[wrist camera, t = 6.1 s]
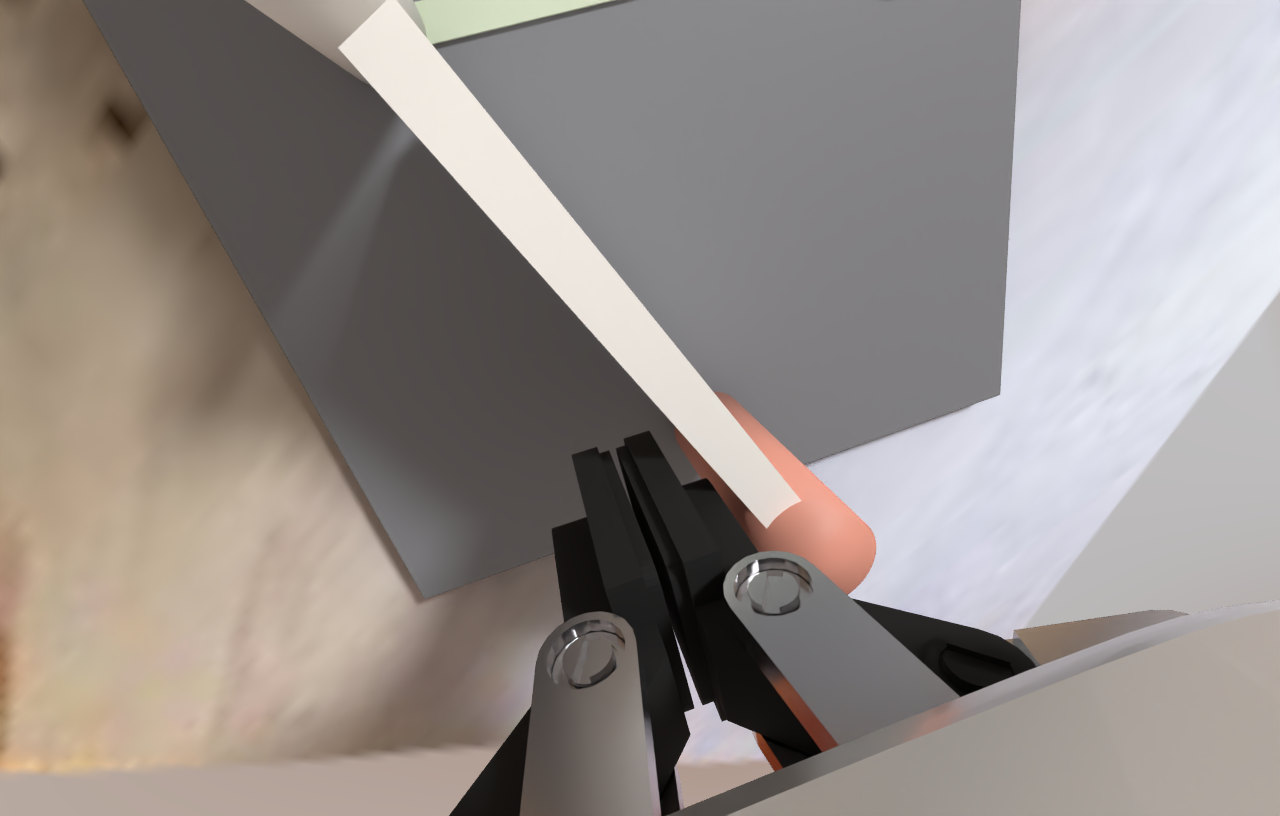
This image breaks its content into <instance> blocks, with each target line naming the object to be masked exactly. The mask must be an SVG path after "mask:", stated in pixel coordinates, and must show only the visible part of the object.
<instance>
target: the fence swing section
mask: <svg viewBox="0 0 1280 816" xmlns="http://www.w3.org/2000/svg"><path fill="white" fill-rule="evenodd" d="M338 48H339V50H340V51H341V52H342V53H343V54H344V55H345V56H346V57H347V59H348V60H349V61H350V62H351V63H352V64H353V65H354V66H355V67H356V69H357V70H358V71H359V72H360V73H361V74H362V75H363V76H364V78H365V79H366V80H367V81H368V82H369V83H370V84H371V85H372V87H373V88H374V89H375V90H376V91H377V92H378V93H379V94H380V96H381V97H382V98H383V99H384V100H385V101H386V102H387V103H388V105H389V106H390V107H391V108H392V109H393V110H394V111H395V112H396V113H397V115H398V116H399V117H400V118H401V119H402V120H403V121H404V122H405V124H406V125H407V126H408V127H409V128H410V129H411V130H412V131H413V133H414V134H415V135H416V136H417V137H418V138H419V139H420V140H421V142H422V143H423V144H424V145H425V146H426V147H427V148H428V149H429V151H430V152H431V153H432V154H433V155H434V156H435V157H436V158H437V159H438V161H439V162H440V163H441V164H442V165H443V166H444V167H445V168H446V170H447V171H448V172H449V173H450V174H451V175H452V176H453V177H454V179H455V180H456V181H457V182H458V183H459V184H460V185H461V186H462V188H463V189H464V190H465V191H466V192H467V193H468V194H469V195H470V197H471V198H472V199H473V200H474V201H475V202H476V203H477V204H478V205H479V207H480V208H481V209H482V210H483V211H484V212H485V213H486V214H487V216H488V217H489V218H490V219H491V220H492V221H493V222H494V223H495V225H496V226H497V227H498V228H499V229H500V230H501V231H502V232H503V234H504V235H505V236H506V237H507V238H508V239H509V240H510V241H511V243H512V244H513V245H514V246H515V247H516V248H517V249H518V250H519V251H520V253H521V254H522V255H523V256H524V257H525V258H526V259H527V260H528V262H529V263H530V264H531V265H532V266H533V267H534V268H535V269H536V271H537V272H538V273H539V274H540V275H541V276H542V277H543V278H544V280H545V281H546V282H547V283H548V284H549V285H550V286H551V287H552V289H553V290H554V291H555V292H556V293H557V294H558V295H559V296H560V297H561V299H562V300H563V301H564V302H565V303H566V304H567V305H568V306H569V308H570V309H571V310H572V311H573V312H574V313H575V314H576V315H577V317H578V318H579V319H580V320H581V321H582V322H583V323H584V324H585V326H586V327H587V328H588V329H589V330H590V331H591V332H592V333H593V335H594V336H595V337H596V338H597V339H598V340H599V341H600V342H601V343H602V345H603V346H604V347H605V348H606V349H607V350H608V351H609V352H610V354H611V355H612V356H613V357H614V358H615V359H616V360H617V361H618V363H619V364H620V365H621V366H622V367H623V368H624V369H625V370H626V372H627V373H628V374H629V375H630V376H631V377H632V378H633V379H634V381H635V382H636V383H637V384H638V385H639V386H640V387H641V388H642V389H643V391H644V392H645V393H646V394H647V395H648V396H649V397H650V398H651V400H652V401H653V402H654V403H655V404H656V405H657V406H658V407H659V409H660V410H661V411H662V412H663V413H664V414H665V415H666V416H667V418H668V419H669V420H670V421H671V422H672V423H673V424H674V425H675V429H674V430H675V437H676V440H677V443H678V444H679V446H680V447H681V449H682V451H683V452H684V454H685V455H686V457H687V458H688V460H689V461H690V463H691V464H692V466H693V467H694V469H695V470H696V472H697V473H698V475H699V476H700V478H701V479H703V478H707V479H708V480H709V481H710V482H711V484H712V485H713V487H714V488H715V489H716V491H717V492H718V494H719V495H720V497H721V498H722V500H723V501H724V502H725V504H726V505H727V507H728V508H729V510H730V511H731V513H732V514H733V515H734V517H735V518H736V520H737V521H738V523H739V524H740V526H741V527H742V529H743V530H744V531H745V533H746V534H747V536H748V537H749V539H750V540H751V542H752V543H753V544H754V546H755V547H756V549H757V550H758V552H766V551H782V552H789V553H792V554H795V555H798V556H801V557H803V558H805V559H806V560H808V561H809V562H811V563H812V564H814V565H815V566H816V567H817V568H818V569H819V570H820V571H821V572H822V573H824V574H825V575H826V576H827V577H828V578H829V579H830V580H831V581H832V582H834V583H835V584H836V585H837V586H838V587H839V588H840V589H841V590H842V591H843V592H845V593H846V594H847V595H848V594H849V593H851V592H852V591H853V590H854V589H855V588H856V587H857V586H858V585H859V584H860V583H861V582H862V581H863V580H864V578H865V577H866V575H867V574H868V572H869V571H870V569H871V567H872V564H873V562H874V558H875V554H876V541H875V537H874V534H873V532H872V530H871V529H870V528H869V526H868V525H867V524H866V523H865V522H864V521H863V520H862V519H860V518H859V517H858V516H857V515H856V514H855V513H854V512H853V511H852V510H851V509H850V508H849V507H848V506H847V505H846V504H845V503H844V502H843V501H841V500H840V499H839V498H838V497H837V496H836V495H835V494H834V493H833V492H832V491H831V490H830V489H829V488H828V487H827V486H826V485H825V484H824V483H823V482H821V481H820V480H819V479H818V478H817V477H816V476H815V475H814V474H813V473H812V472H811V471H810V470H809V469H808V468H807V467H806V466H805V465H804V464H802V463H801V462H800V461H799V460H798V459H797V458H796V457H795V456H794V455H793V454H792V453H791V452H790V451H789V450H788V449H787V448H786V447H785V446H783V445H782V444H781V443H780V442H779V441H778V440H777V439H776V438H775V437H774V436H773V435H772V434H771V433H770V432H769V431H768V430H767V429H766V428H765V427H763V426H762V425H761V424H760V423H759V422H758V421H757V420H756V419H755V418H754V417H753V416H752V415H751V414H750V413H749V412H748V411H747V410H746V409H744V408H743V407H742V406H741V405H740V404H739V403H738V402H737V401H736V400H735V399H734V398H733V397H731V396H730V395H728V394H725V393H722V392H713V391H712V390H711V388H710V387H709V386H708V385H707V383H706V382H705V381H704V380H703V378H702V377H701V376H700V375H699V374H698V372H697V371H696V370H695V369H694V367H693V366H692V365H691V364H690V362H689V361H688V360H687V359H686V357H685V356H684V355H683V354H682V353H681V351H680V350H679V349H678V348H677V346H676V345H675V344H674V343H673V341H672V340H671V339H670V338H669V336H668V335H667V334H666V333H665V332H664V330H663V329H662V328H661V327H660V325H659V324H658V323H657V322H656V320H655V319H654V318H653V317H652V315H651V314H650V313H649V312H648V311H647V309H646V308H645V307H644V306H643V304H642V303H641V302H640V301H639V299H638V298H637V297H636V296H635V294H634V293H633V292H632V291H631V290H630V288H629V287H628V286H627V285H626V283H625V282H624V281H623V280H622V278H621V277H620V276H619V275H618V273H617V272H616V271H615V270H614V269H613V267H612V266H611V265H610V264H609V262H608V261H607V260H606V259H605V257H604V256H603V255H602V254H601V252H600V251H599V250H598V249H597V248H596V246H595V245H594V244H593V243H592V241H591V240H590V239H589V238H588V236H587V235H586V234H585V233H584V231H583V230H582V229H581V228H580V227H579V225H578V224H577V223H576V222H575V220H574V219H573V218H572V217H571V215H570V214H569V213H568V212H567V210H566V209H565V208H564V207H563V206H562V204H561V203H560V202H559V201H558V199H557V198H556V197H555V196H554V194H553V193H552V192H551V191H550V189H549V188H548V187H547V186H546V185H545V183H544V182H543V181H542V180H541V178H540V177H539V176H538V175H537V173H536V172H535V171H534V170H533V168H532V167H531V166H530V165H529V164H528V162H527V161H526V160H525V159H524V157H523V156H522V155H521V154H520V152H519V151H518V150H517V149H516V147H515V146H514V145H513V144H512V143H511V141H510V140H509V139H508V138H507V136H506V135H505V134H504V133H503V131H502V130H501V129H500V128H499V126H498V125H497V124H496V123H495V122H494V120H493V119H492V118H491V117H490V115H489V114H488V113H487V112H486V110H485V109H484V108H483V107H482V105H481V104H480V103H479V102H478V101H477V99H476V98H475V97H474V96H473V94H472V93H471V92H470V91H469V89H468V88H467V87H466V86H465V84H464V83H463V82H462V81H461V80H460V78H459V77H458V76H457V75H456V73H455V72H454V71H453V70H452V68H451V67H450V66H449V65H448V63H447V62H446V61H445V60H444V59H443V57H442V56H441V55H440V54H439V52H438V51H437V50H436V49H435V47H434V46H433V45H432V44H431V42H430V41H429V40H428V39H427V38H426V36H425V35H424V34H423V33H422V31H421V30H420V29H419V28H418V26H417V25H416V24H415V23H414V21H413V20H412V19H411V18H410V17H409V15H408V14H407V13H406V12H405V10H404V9H403V8H402V7H401V5H400V4H399V3H398V2H397V0H387V1H386V2H385V3H383V4H382V5H381V6H380V7H379V8H378V9H377V10H376V11H375V12H374V13H373V14H372V15H371V16H370V17H369V18H368V19H367V20H366V21H365V22H364V23H363V24H362V25H361V26H360V27H359V28H358V29H357V30H356V31H355V32H354V33H353V34H352V35H351V36H350V37H348V38H347V39H346V40H345V41H344V42H343V43H342V44H341V45H340V46H339V47H338Z"/></svg>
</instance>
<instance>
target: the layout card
mask: <svg viewBox="0 0 1280 816" xmlns="http://www.w3.org/2000/svg"><path fill="white" fill-rule="evenodd" d="M413 1H414V3H415V5H416V7H417V9H418V11H419V13H420V15H421V18H422V20H423V22H424V26H425V29H426V34H427V39H428V40H429V41H430V42H431V44H432V45H433V46H434V47H435V49H436V50H437V51H438V52H439V54H440V55H441V56H442V57H443V59H444V60H445V61H446V62H447V63H448V65H449V66H450V67H451V68H452V70H453V71H454V72H455V73H456V75H457V76H458V77H459V78H460V80H461V81H462V82H463V83H464V84H465V86H466V87H467V88H468V89H469V91H470V92H471V93H472V94H473V96H474V97H475V98H476V99H477V101H478V102H479V103H480V104H481V105H482V107H483V108H484V109H485V110H486V112H487V113H488V114H489V115H490V117H491V118H492V119H493V120H494V122H495V123H496V124H497V125H498V126H499V128H500V129H501V130H502V131H503V133H504V134H505V135H506V136H507V138H508V139H509V140H510V141H511V143H512V144H513V145H514V146H515V147H516V149H517V150H518V151H519V152H520V154H521V155H522V156H523V157H524V159H525V160H526V161H527V162H528V164H529V165H530V166H531V167H532V168H533V170H534V171H535V172H536V173H537V175H538V176H539V177H540V178H541V180H542V181H543V182H544V183H545V185H546V186H547V187H548V188H549V189H550V191H551V192H552V193H553V194H554V196H555V197H556V198H557V199H558V201H559V202H560V203H561V204H562V206H563V207H564V208H565V209H566V210H567V212H568V213H569V214H570V215H571V217H572V218H573V219H574V220H575V222H576V223H577V224H578V225H579V227H580V228H581V229H582V230H583V231H584V233H585V234H586V235H587V236H588V238H589V239H590V240H591V241H592V243H593V244H594V245H595V246H596V248H597V249H598V250H599V251H600V252H601V254H602V255H603V256H604V257H605V259H606V260H607V261H608V262H609V264H610V265H611V266H612V267H613V269H614V270H615V271H616V272H617V273H618V275H619V276H620V277H621V278H622V280H623V281H624V282H625V283H626V285H627V286H628V287H629V288H630V290H631V291H632V292H633V293H634V294H635V296H636V297H637V298H638V299H639V301H640V302H641V303H642V304H643V306H644V307H645V308H646V309H647V311H648V312H649V313H650V314H651V315H652V317H653V318H654V319H655V320H656V322H657V323H658V324H659V325H660V327H661V328H662V329H663V330H664V332H665V333H666V334H667V335H668V336H669V338H670V339H671V340H672V341H673V343H674V344H675V345H676V346H677V348H678V349H679V350H680V351H681V353H682V354H683V355H684V356H685V357H686V359H687V360H688V361H689V362H690V364H691V365H692V366H693V367H694V369H695V370H696V371H697V372H698V374H699V375H700V376H701V377H702V378H703V380H704V381H705V382H706V383H707V385H708V386H709V387H710V388H711V390H712V391H713V392H722V393H725V394H728V395H730V396H731V397H733V398H734V399H735V400H736V401H737V402H738V403H739V404H740V405H741V406H742V407H743V408H744V409H746V410H747V411H748V412H749V413H750V414H751V415H752V416H753V417H754V418H755V419H756V420H757V421H758V422H759V423H760V424H761V425H762V426H763V427H765V428H766V429H767V430H768V431H769V432H770V433H771V434H772V435H773V436H774V437H775V438H776V439H777V440H778V441H779V442H780V443H781V444H782V445H783V446H785V447H786V448H787V449H788V450H789V451H790V452H791V453H792V454H793V455H794V456H795V457H796V458H797V459H798V460H799V461H800V462H801V463H802V464H807V463H810V462H812V461H815V460H818V459H821V458H824V457H826V456H829V455H832V454H835V453H838V452H841V451H843V450H846V449H849V448H852V447H855V446H857V445H860V444H863V443H866V442H869V441H871V440H874V439H877V438H880V437H883V436H886V435H888V434H891V433H894V432H897V431H900V430H902V429H905V428H908V427H911V426H914V425H916V424H919V423H922V422H925V421H928V420H931V419H933V418H936V417H939V416H942V415H945V414H947V413H950V412H953V411H956V410H959V409H961V408H964V407H967V406H970V405H973V404H976V403H978V402H981V401H984V400H987V399H990V398H992V397H995V396H998V395H1000V387H1001V368H1002V349H1003V330H1004V311H1005V292H1006V273H1007V255H1008V236H1009V217H1010V198H1011V179H1012V160H1013V142H1014V123H1015V104H1016V85H1017V66H1018V47H1019V28H1020V10H1021V0H413ZM83 2H84V3H85V5H86V7H87V9H88V10H89V12H90V14H91V16H92V17H93V19H94V21H95V23H96V24H97V26H98V28H99V30H100V31H101V33H102V35H103V37H104V38H105V40H106V42H107V44H108V45H109V47H110V49H111V51H112V52H113V54H114V56H115V58H116V59H117V61H118V63H119V65H120V66H121V68H122V70H123V72H124V73H125V75H126V77H127V79H128V80H129V82H130V84H131V86H132V87H133V89H134V91H135V93H136V94H137V96H138V98H139V100H140V101H141V103H142V105H143V107H144V108H145V110H146V112H147V114H148V115H149V117H150V119H151V121H152V122H153V124H154V126H155V128H156V129H157V131H158V133H159V135H160V136H161V138H162V140H163V142H164V143H165V145H166V147H167V149H168V150H169V152H170V154H171V156H172V157H173V159H174V161H175V163H176V164H177V166H178V168H179V170H180V171H181V173H182V175H183V177H184V178H185V180H186V182H187V184H188V185H189V187H190V189H191V191H192V193H193V194H194V196H195V198H196V200H197V201H198V203H199V205H200V207H201V208H202V210H203V212H204V214H205V215H206V217H207V219H208V221H209V222H210V224H211V226H212V228H213V229H214V231H215V233H216V235H217V236H218V238H219V240H220V242H221V243H222V245H223V247H224V249H225V250H226V252H227V254H228V256H229V257H230V259H231V261H232V263H233V264H234V266H235V268H236V270H237V271H238V273H239V275H240V277H241V278H242V280H243V282H244V284H245V285H246V287H247V289H248V291H249V292H250V294H251V296H252V298H253V299H254V301H255V303H256V305H257V306H258V308H259V310H260V312H261V313H262V315H263V317H264V319H265V320H266V322H267V324H268V326H269V327H270V329H271V331H272V333H273V334H274V336H275V338H276V340H277V341H278V343H279V345H280V347H281V348H282V350H283V352H284V354H285V355H286V357H287V359H288V361H289V362H290V364H291V366H292V368H293V369H294V371H295V373H296V375H297V376H298V378H299V380H300V382H301V383H302V385H303V387H304V389H305V390H306V392H307V394H308V396H309V397H310V399H311V401H312V403H313V404H314V406H315V408H316V410H317V411H318V413H319V415H320V417H321V418H322V420H323V422H324V424H325V425H326V427H327V429H328V431H329V432H330V434H331V436H332V438H333V439H334V441H335V443H336V445H337V446H338V448H339V450H340V452H341V453H342V455H343V457H344V459H345V460H346V462H347V464H348V466H349V467H350V469H351V471H352V473H353V474H354V476H355V478H356V480H357V481H358V483H359V485H360V487H361V488H362V490H363V492H364V494H365V495H366V497H367V499H368V501H369V502H370V504H371V506H372V508H373V509H374V511H375V513H376V515H377V516H378V518H379V520H380V522H381V523H382V525H383V527H384V529H385V530H386V532H387V534H388V536H389V537H390V539H391V541H392V543H393V544H394V546H395V548H396V550H397V551H398V553H399V555H400V557H401V559H402V560H403V562H404V564H405V566H406V567H407V569H408V571H409V573H410V574H411V576H412V578H413V580H414V581H415V583H416V585H417V587H418V588H419V590H420V592H421V594H422V595H423V597H424V599H427V598H430V597H433V596H436V595H438V594H441V593H444V592H447V591H450V590H452V589H455V588H458V587H461V586H464V585H466V584H469V583H472V582H475V581H478V580H481V579H483V578H486V577H489V576H492V575H495V574H497V573H500V572H503V571H506V570H509V569H511V568H514V567H517V566H520V565H523V564H526V563H528V562H531V561H534V560H537V559H540V558H542V557H545V556H548V555H551V554H554V546H553V539H552V528H554V527H557V526H560V525H564V524H567V523H570V522H573V521H576V520H579V519H582V518H585V517H587V516H586V512H585V508H584V504H583V500H582V496H581V492H580V488H579V484H578V480H577V476H576V472H575V468H574V464H573V460H572V456H571V455H572V454H575V453H578V452H582V451H585V450H588V449H591V448H594V447H597V448H598V451H599V453H602V452H605V451H608V450H609V451H610V453H611V456H612V458H613V461H614V464H615V466H616V469H617V471H618V474H619V476H620V479H621V481H622V484H623V486H624V489H625V491H626V494H627V497H628V499H629V495H628V492H627V488H626V485H625V481H624V478H623V474H622V470H621V467H620V463H619V460H618V456H617V452H616V448H618V447H621V446H624V445H625V444H624V438H627V437H630V436H633V435H636V434H639V433H642V432H646V431H650V432H651V434H652V436H653V438H654V439H655V441H656V443H657V444H658V446H659V448H660V449H661V451H662V453H663V454H664V456H665V458H666V460H667V461H668V463H669V465H670V466H671V468H672V470H673V471H674V473H675V475H676V476H677V478H678V480H679V482H680V483H681V485H685V484H688V483H691V482H694V481H697V480H700V479H701V478H700V476H699V475H698V473H697V472H696V470H695V469H694V467H693V466H692V464H691V463H690V461H689V460H688V458H687V457H686V455H685V454H684V452H683V451H682V449H681V447H680V446H679V444H678V443H677V440H676V437H675V430H674V429H675V425H674V424H673V423H672V422H671V421H670V420H669V419H668V418H667V416H666V415H665V414H664V413H663V412H662V411H661V410H660V409H659V407H658V406H657V405H656V404H655V403H654V402H653V401H652V400H651V398H650V397H649V396H648V395H647V394H646V393H645V392H644V391H643V389H642V388H641V387H640V386H639V385H638V384H637V383H636V382H635V381H634V379H633V378H632V377H631V376H630V375H629V374H628V373H627V372H626V370H625V369H624V368H623V367H622V366H621V365H620V364H619V363H618V361H617V360H616V359H615V358H614V357H613V356H612V355H611V354H610V352H609V351H608V350H607V349H606V348H605V347H604V346H603V345H602V343H601V342H600V341H599V340H598V339H597V338H596V337H595V336H594V335H593V333H592V332H591V331H590V330H589V329H588V328H587V327H586V326H585V324H584V323H583V322H582V321H581V320H580V319H579V318H578V317H577V315H576V314H575V313H574V312H573V311H572V310H571V309H570V308H569V306H568V305H567V304H566V303H565V302H564V301H563V300H562V299H561V297H560V296H559V295H558V294H557V293H556V292H555V291H554V290H553V289H552V287H551V286H550V285H549V284H548V283H547V282H546V281H545V280H544V278H543V277H542V276H541V275H540V274H539V273H538V272H537V271H536V269H535V268H534V267H533V266H532V265H531V264H530V263H529V262H528V260H527V259H526V258H525V257H524V256H523V255H522V254H521V253H520V251H519V250H518V249H517V248H516V247H515V246H514V245H513V244H512V243H511V241H510V240H509V239H508V238H507V237H506V236H505V235H504V234H503V232H502V231H501V230H500V229H499V228H498V227H497V226H496V225H495V223H494V222H493V221H492V220H491V219H490V218H489V217H488V216H487V214H486V213H485V212H484V211H483V210H482V209H481V208H480V207H479V205H478V204H477V203H476V202H475V201H474V200H473V199H472V198H471V197H470V195H469V194H468V193H467V192H466V191H465V190H464V189H463V188H462V186H461V185H460V184H459V183H458V182H457V181H456V180H455V179H454V177H453V176H452V175H451V174H450V173H449V172H448V171H447V170H446V168H445V167H444V166H443V165H442V164H441V163H440V162H439V161H438V159H437V158H436V157H435V156H434V155H433V154H432V153H431V152H430V151H429V149H428V148H427V147H426V146H425V145H424V144H423V143H422V142H421V140H420V139H419V138H418V137H417V136H416V135H415V134H414V133H413V131H412V130H411V129H410V128H409V127H408V126H407V125H406V124H405V122H404V121H403V120H402V119H401V118H400V117H399V116H398V115H397V113H396V112H395V111H394V110H393V109H392V108H391V107H390V106H389V105H388V103H387V102H386V101H385V100H384V99H383V98H382V97H381V96H380V94H379V93H378V92H377V91H376V90H375V89H374V88H373V87H372V86H371V85H368V84H366V83H364V82H362V81H361V80H359V79H358V78H356V77H355V76H353V75H352V74H350V73H349V72H347V71H346V70H345V69H343V68H342V67H340V66H339V65H337V64H336V63H335V62H333V61H332V60H330V59H329V58H327V57H326V56H324V55H323V54H322V53H320V52H319V51H317V50H316V49H314V48H313V47H311V46H310V45H309V44H307V43H306V42H304V41H303V40H301V39H300V38H298V37H297V36H296V35H294V34H293V33H291V32H290V31H288V30H287V29H285V28H284V27H283V26H281V25H280V24H278V23H277V22H275V21H274V20H272V19H271V18H270V17H268V16H267V15H265V14H264V13H262V12H261V11H259V10H258V9H257V8H255V7H254V6H252V5H251V4H249V3H248V2H246V1H245V0H83ZM629 502H630V499H629ZM630 504H631V502H630ZM631 507H632V506H631Z"/></svg>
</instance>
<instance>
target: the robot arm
mask: <svg viewBox="0 0 1280 816" xmlns="http://www.w3.org/2000/svg"><path fill="white" fill-rule="evenodd" d="M624 444H625V445H624V446H621V447H618V448H616V452H617V456H618V460H619V463H620V467H621V470H622V474H623V478H624V481H625V485H626V488H627V492H628V495H629V499H630V502H631V504H630V502H629V499H628V497H627V494H626V491H625V489H624V486H623V484H622V481H621V479H620V476H619V474H618V471H617V469H616V466H615V464H614V461H613V458H612V456H611V453H610V451H609V450H608V451H605V452H602V453H599V451H598V448H597V447H594V448H591V449H588V450H585V451H582V452H578V453H575V454H572V455H571V456H572V460H573V464H574V468H575V472H576V476H577V480H578V484H579V488H580V492H581V496H582V500H583V504H584V508H585V512H586V516H587V517H585V518H582V519H579V520H576V521H573V522H570V523H567V524H564V525H560V526H557V527H554V528H552V539H553V546H554V553H555V560H556V567H557V574H558V582H559V589H560V596H561V603H562V610H563V617H564V623H563V624H562V625H560V626H559V627H557V628H556V629H555V630H554V631H553V632H552V633H551V634H550V635H549V636H548V637H547V639H546V641H545V642H544V644H543V646H542V647H541V649H540V651H539V654H538V658H537V661H536V667H535V676H534V686H533V695H532V704H531V707H530V709H529V710H528V711H527V713H526V714H525V715H524V717H523V718H522V719H521V721H520V722H519V723H518V725H517V726H516V727H515V729H514V730H513V731H512V733H511V734H510V735H509V737H508V738H507V739H506V741H505V742H504V743H503V745H502V746H501V747H500V749H499V750H498V751H497V753H496V754H495V755H494V757H493V758H492V759H491V761H490V762H489V763H488V765H487V766H486V767H485V769H484V770H483V771H482V773H481V774H480V775H479V777H478V778H477V779H476V781H475V782H474V783H473V785H472V786H471V787H470V789H469V790H468V791H467V793H466V794H465V795H464V797H463V798H462V799H461V801H460V802H459V803H458V805H457V806H456V807H455V809H454V810H453V811H452V812H451V814H450V815H449V816H1280V600H1272V601H1264V602H1256V603H1248V604H1240V605H1232V606H1226V607H1221V608H1217V609H1212V610H1207V611H1203V612H1198V613H1194V614H1187V613H1182V612H1177V611H1173V610H1149V611H1142V612H1135V613H1128V614H1122V615H1115V616H1108V617H1101V618H1094V619H1088V620H1081V621H1074V622H1067V623H1061V624H1054V625H1047V626H1039V627H1034V628H1026V629H1019V630H1014V633H1013V639H1008V640H1004V639H1003V638H1001V637H999V636H997V635H994V634H991V633H988V632H985V631H982V630H979V629H976V628H971V627H967V626H963V625H959V624H955V623H951V622H947V621H943V620H938V619H934V618H930V617H926V616H922V615H918V614H914V613H909V612H905V611H901V610H897V609H893V608H889V607H885V606H881V605H876V604H872V603H868V602H864V601H860V600H856V599H852V598H850V597H849V596H848V595H847V594H846V593H845V592H843V591H842V590H841V589H840V588H839V587H838V586H837V585H836V584H835V583H834V582H832V581H831V580H830V579H829V578H828V577H827V576H826V575H825V574H824V573H822V572H821V571H820V570H819V569H818V568H817V567H816V566H815V565H814V564H812V563H811V562H809V561H808V560H806V559H805V558H803V557H801V556H798V555H795V554H792V553H789V552H782V551H766V552H758V550H757V549H756V547H755V546H754V544H753V543H752V542H751V540H750V539H749V537H748V536H747V534H746V533H745V531H744V530H743V529H742V527H741V526H740V524H739V523H738V521H737V520H736V518H735V517H734V515H733V514H732V513H731V511H730V510H729V508H728V507H727V505H726V504H725V502H724V501H723V500H722V498H721V497H720V495H719V494H718V492H717V491H716V489H715V488H714V487H713V485H712V484H711V482H710V481H709V480H708V479H707V478H703V479H700V480H697V481H694V482H691V483H688V484H685V485H681V483H680V482H679V480H678V478H677V476H676V475H675V473H674V471H673V470H672V468H671V466H670V465H669V463H668V461H667V460H666V458H665V456H664V454H663V453H662V451H661V449H660V448H659V446H658V444H657V443H656V441H655V439H654V438H653V436H652V434H651V432H650V431H646V432H642V433H639V434H636V435H633V436H630V437H627V438H624ZM631 506H632V507H631ZM672 627H673V628H672ZM673 630H674V631H673ZM674 633H675V635H676V638H677V640H678V643H679V646H680V648H681V651H682V654H683V656H684V659H685V661H686V664H687V667H688V669H689V672H690V674H691V677H692V680H693V682H694V685H695V688H696V690H697V693H698V695H699V698H700V700H701V703H702V705H705V704H708V703H710V702H713V701H714V703H715V706H716V708H717V711H718V713H719V716H720V718H721V720H722V721H725V720H728V721H730V722H732V723H734V724H737V725H739V726H742V727H744V728H747V729H749V730H752V732H753V735H754V738H755V740H756V742H757V744H758V746H759V748H760V750H761V751H762V753H763V754H764V756H765V757H766V759H767V761H768V762H769V764H770V765H771V767H772V768H773V770H774V772H773V773H771V774H768V775H765V776H763V777H761V778H758V779H756V780H753V781H751V782H748V783H746V784H743V785H741V786H738V787H736V788H733V789H731V790H728V791H726V792H724V793H721V794H719V795H716V796H714V797H711V798H709V799H706V800H704V801H701V802H699V803H696V804H694V805H692V806H689V807H687V808H684V804H683V797H682V791H681V783H680V777H679V773H678V770H677V767H676V763H677V761H678V759H679V757H680V755H681V753H682V751H683V749H684V747H685V745H686V743H687V741H688V739H689V737H690V732H689V728H688V725H687V721H686V718H685V714H684V712H686V711H689V710H691V709H694V705H693V701H692V697H691V694H690V690H689V686H688V683H687V679H686V675H685V672H684V668H683V664H682V661H681V657H680V653H679V650H678V646H677V642H676V639H675V635H674Z"/></svg>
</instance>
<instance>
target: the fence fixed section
mask: <svg viewBox="0 0 1280 816" xmlns="http://www.w3.org/2000/svg"><path fill="white" fill-rule="evenodd" d="M245 1H246V2H248V3H249V4H251V5H252V6H254V7H255V8H257V9H258V10H259V11H261V12H262V13H264V14H265V15H267V16H268V17H270V18H271V19H272V20H274V21H275V22H277V23H278V24H280V25H281V26H283V27H284V28H285V29H287V30H288V31H290V32H291V33H293V34H294V35H296V36H297V37H298V38H300V39H301V40H303V41H304V42H306V43H307V44H309V45H310V46H311V47H313V48H314V49H316V50H317V51H319V52H320V53H322V54H323V55H324V56H326V57H327V58H329V59H330V60H332V61H333V62H335V63H336V64H337V65H339V66H340V67H342V68H343V69H345V70H346V71H347V72H349V73H350V74H352V75H353V76H355V77H356V78H358V79H359V80H361V81H362V82H364V83H366V84H368V85H371V84H370V83H369V82H368V81H367V80H366V79H365V78H364V76H363V75H362V74H361V73H360V72H359V71H358V70H357V69H356V67H355V66H354V65H353V64H352V63H351V62H350V61H349V60H348V59H347V57H346V56H345V55H344V54H343V53H342V52H341V51H340V50H339V48H338V47H339V46H340V45H341V44H342V43H343V42H344V41H345V40H346V39H347V38H348V37H350V36H351V35H352V34H353V33H354V32H355V31H356V30H357V29H358V28H359V27H360V26H361V25H362V24H363V23H364V22H365V21H366V20H367V19H368V18H369V17H370V16H371V15H372V14H373V13H374V12H375V11H376V10H377V9H378V8H379V7H380V6H381V5H382V4H383V3H385V2H386V1H387V0H245ZM397 2H398V3H399V4H400V5H401V7H402V8H403V9H404V10H405V12H406V13H407V14H408V15H409V17H410V18H411V19H412V20H413V21H414V23H415V24H416V25H417V26H418V28H419V29H420V30H421V31H422V33H423V34H424V35H425V36H426V38H427V34H426V29H425V26H424V22H423V20H422V18H421V15H420V13H419V11H418V9H417V7H416V5H415V3H414V1H413V0H397ZM371 86H372V85H371Z"/></svg>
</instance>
